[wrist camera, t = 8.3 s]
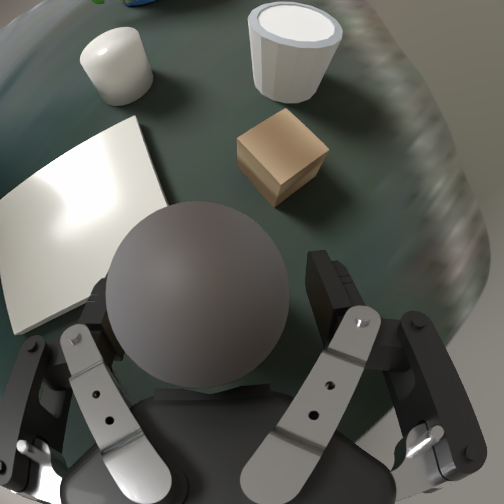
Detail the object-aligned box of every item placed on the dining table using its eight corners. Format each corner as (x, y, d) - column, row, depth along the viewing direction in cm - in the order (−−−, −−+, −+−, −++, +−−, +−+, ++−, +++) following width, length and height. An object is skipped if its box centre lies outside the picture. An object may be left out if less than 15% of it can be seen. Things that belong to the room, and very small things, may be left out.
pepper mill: (210, 348, 18) (147, 421, 5) (182, 286, 19) (76, 243, 6) (272, 320, 19) (333, 343, 6) (243, 258, 19) (244, 163, 6)
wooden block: (274, 208, 20) (281, 184, 16) (237, 167, 21) (236, 138, 17) (315, 176, 21) (329, 149, 17) (279, 139, 21) (285, 108, 17)
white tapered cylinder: (308, 121, 22) (329, 60, 15) (232, 92, 22) (230, 29, 15) (332, 74, 23) (352, 19, 16) (265, 49, 23) (270, -7, 16)
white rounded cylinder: (114, 115, 21) (90, 77, 16) (95, 87, 22) (73, 52, 16) (163, 83, 22) (149, 41, 17) (139, 59, 23) (125, 20, 17)
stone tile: (23, 334, 17) (14, 334, 16) (0, 209, 19) (-7, 205, 18) (188, 254, 19) (185, 250, 18) (139, 123, 21) (135, 115, 20)
